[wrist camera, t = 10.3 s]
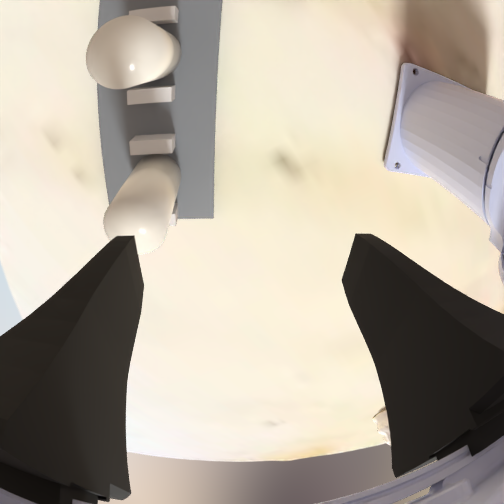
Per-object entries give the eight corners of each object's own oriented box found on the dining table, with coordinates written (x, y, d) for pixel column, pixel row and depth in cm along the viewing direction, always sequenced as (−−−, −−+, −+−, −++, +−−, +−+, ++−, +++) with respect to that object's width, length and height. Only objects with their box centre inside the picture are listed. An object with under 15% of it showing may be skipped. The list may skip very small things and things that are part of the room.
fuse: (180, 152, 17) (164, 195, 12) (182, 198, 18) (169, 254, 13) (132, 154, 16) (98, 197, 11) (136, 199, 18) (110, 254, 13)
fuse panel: (231, -86, 8) (233, -101, 6) (213, 212, 20) (213, 229, 18) (117, -75, 7) (106, -87, 5) (115, 214, 19) (106, 231, 17)
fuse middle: (182, 29, 12) (164, 10, 7) (180, 78, 14) (160, 85, 9) (129, 33, 12) (86, 23, 7) (128, 82, 14) (86, 94, 9)
